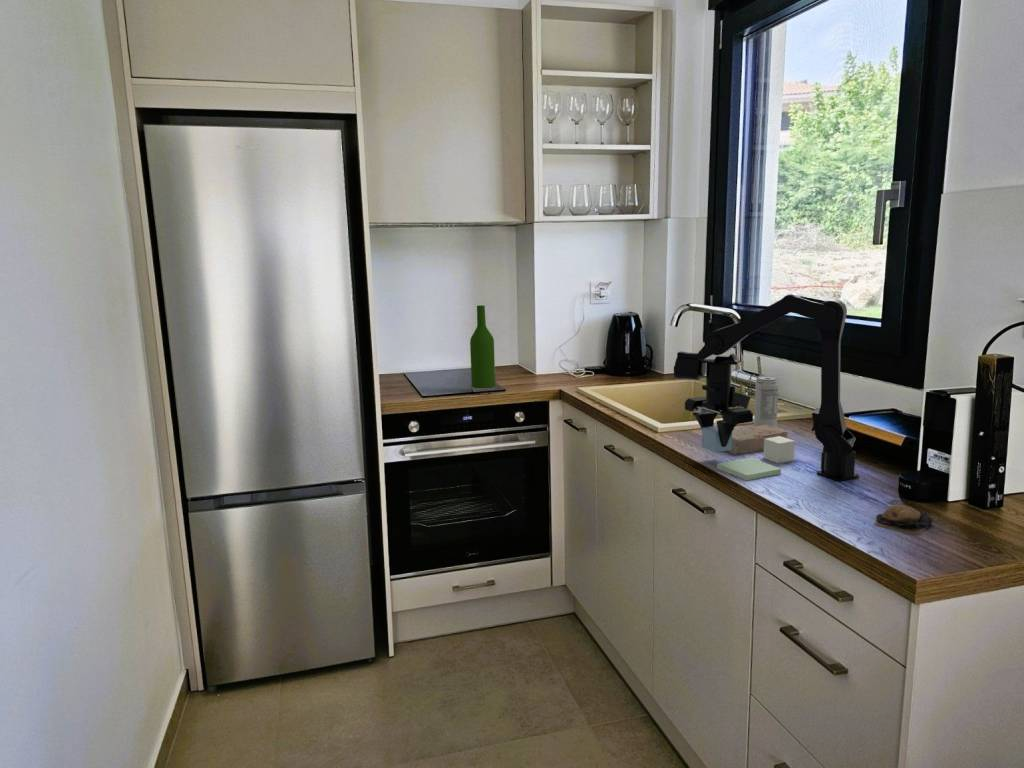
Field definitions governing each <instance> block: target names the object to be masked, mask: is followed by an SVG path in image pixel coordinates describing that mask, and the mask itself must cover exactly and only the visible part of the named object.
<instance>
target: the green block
mask: <svg viewBox="0 0 1024 768" xmlns="http://www.w3.org/2000/svg"><path fill="white" fill-rule="evenodd" d="M716 464H717V465H716V466H717V467H716V469H718V470H720V471H722V472H724V473H727V474H730V475H731V476H734V477H736V478H740V479H742V480H744V481H749V480H750V481H751V480H756V479H760V478H767V477H771V476H776V475H780V474H781V473H782V468H780V467H777V466H774V465H772V464H769V463H767V462H766V463H765V462H764V461H760V460H758V459H755V458H753V457H747V458H741V459H736V460H731V461H725V462H718V463H716Z"/></svg>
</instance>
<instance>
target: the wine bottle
mask: <svg viewBox="0 0 1024 768" xmlns="http://www.w3.org/2000/svg"><path fill="white" fill-rule="evenodd" d="M485 307H486V306H485V305H482V304H481V305H476V325H477V326H476V327H475V328H476V329H475V330H474V331H473V333H472V335H471V336H470V341H469V347H470V348H469V349H470V370H471V371H470V375H471V376H470V377H471V378H470V379H471V388H472V387H474V388H492V387H495V386H496V359H495V358H496V357H495V340H494V336H493V335H492V334H491V332H490V330H489V328H487V324H486V323H487V321H486V308H485Z"/></svg>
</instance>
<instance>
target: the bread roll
mask: <svg viewBox="0 0 1024 768" xmlns="http://www.w3.org/2000/svg"><path fill="white" fill-rule="evenodd" d="M932 523H933V519H932V518H931V516H930V515H928V512H925V511H918V510H917V509H915V508H913V507H912V506H909V505H903V504H893V505H891V506H889V507H888V508H886V509H885V511H884V512H883V513H879V514H877V515H876V521H875V522H874V523H873V525H874V526H876V527H879V528H880V527H881V528H884V529H888V530H892V531H896V532H899V533H906V534H907V535H911V536H912V535H913V536H917V535H919V534H921V532H923V531H925V530H926V529H927V528H928V527H929V526H930V525H931V524H932Z"/></svg>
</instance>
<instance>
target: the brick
mask: <svg viewBox="0 0 1024 768" xmlns="http://www.w3.org/2000/svg"><path fill="white" fill-rule="evenodd" d="M778 436H781V437H784V438H787V439H788V431H787V430H786V429H783V428H779V427H777V426H776V427H772V426H768V425H760V426H755V427H754V426H751V427H749V428H739V429H733V431H732V449H731V450H726V451H727V452H728V453H731V454H734V455H740V454H747V453H753V452H759V451H764V439H766V438H772V437H778Z"/></svg>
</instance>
